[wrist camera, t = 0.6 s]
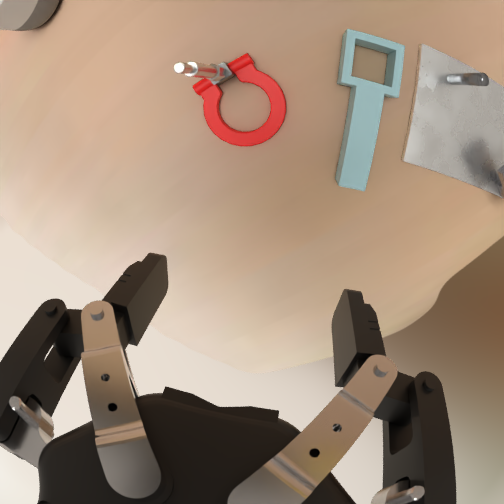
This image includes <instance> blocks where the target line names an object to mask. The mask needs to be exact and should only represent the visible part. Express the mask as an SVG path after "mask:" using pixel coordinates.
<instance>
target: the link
mask: <svg viewBox="0 0 504 504" xmlns="http://www.w3.org/2000/svg"><path fill="white" fill-rule="evenodd" d="M355 45H358V46H362V47H366V48H369V49H373V50H376V51H380V52H383V53H386V54H388V56H387V65H386V73H385V81H384V85H382V84H379V83H375V82H372V81H368V80H364V79H361V78H357V77H353V76H351V73H352V65H353V57H354V48H355ZM404 50H405V46H404V45H401V44H398V43H395V42H392V41H389V40H386V39H383V38H380V37H377V36H373V35H370V34H366V33H363V32H359V31H355V30H351V29H347V30H346V31H345V33H344V34H343V39H342V48H341V56H340V65H339V72H338V80H337V84H340V85H344V86H348V87H351V91H350V98H349V105H348V111H347V117H346V123H345V129H344V135H343V140H342V146H341V151H340V156H339V162H338V167H337V172H336V176H335V179H336V181H337V183H338V186H342V187H347V188H351V189H356V190H361V191H365V189H366V184H367V180H368V176H369V172H370V167H371V163H372V158H373V154H374V149H375V144H376V139H377V134H378V129H379V124H380V118H381V112H382V106H383V100H384V96H386V97H389V98H399V91H400V84H401V77H402V69H403V60H404Z"/></svg>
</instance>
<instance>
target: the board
mask: <svg viewBox="0 0 504 504" xmlns="http://www.w3.org/2000/svg"><path fill="white" fill-rule="evenodd" d="M457 73H480V72H479V71H477V70H475V69H474V68H472V67H470V66H468V65H466V64H464V63H463V62H461V61H459V60H457V59H455V58H453V57H451V56H449V55H447V54H445V53H443V52H440V51H438V50H436V49H434V48H431V47H429V46H427V45H424V44H419V54H418V64H417V73H416V81H415V89H414V96H413V102H412V108H411V114H410V120H409V125H408V130H407V135H406V140H405V145H404V149H403V154H402V158H401V160H402V161H404V162H408V163H411V164H414V165H417V166H421V167H424V168H427V169H430V170H433V171H436V172H439V173H442V174H444V175H447V176H450V177H453V178H455V179H458V180H461V181H463V182H466V183H469V184H471V185H474V186H476V187H478V188H481V189H483V190H486V191H488V192H490V193H493V194H495V195H497V196H499V197H501V198H503V197H502V196H500V194H499V191H498V188H497V185H496V184H497V183H498V182H499V181H500V178H499V175H498V172H497V170H498V169H499V168H500V167H502V166H503V165H504V87H503V86H501V85H500V84H498V83H497V82H495V81H494V80H492V79H490V78H489V77H488V78H489V85H488V86H471V85H451V84H450V83H449V82H448V80H447V76H448V75H449V74H457Z"/></svg>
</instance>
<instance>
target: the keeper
mask: <svg viewBox="0 0 504 504" xmlns="http://www.w3.org/2000/svg"><path fill="white" fill-rule="evenodd" d="M497 172H498V175H499V178H500V181H499V182H498V183H497V184H496V185H497V188H498V191H499V194H500V196H502V197H503V198H504V165H503V166H502V167H500V168H499V169H498V170H497Z"/></svg>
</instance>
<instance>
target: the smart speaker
mask: <svg viewBox="0 0 504 504" xmlns="http://www.w3.org/2000/svg"><path fill="white" fill-rule="evenodd" d="M58 3H59V0H0V30H12V31H27V30H32V29H35V28H37V27H39V26H41V25H43V24H44V23H45V22H46V21H47V20H48V19H49V18H50V17H51V16H52V14H53V13H54V11H55V10H56V8H57V6H58Z"/></svg>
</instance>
